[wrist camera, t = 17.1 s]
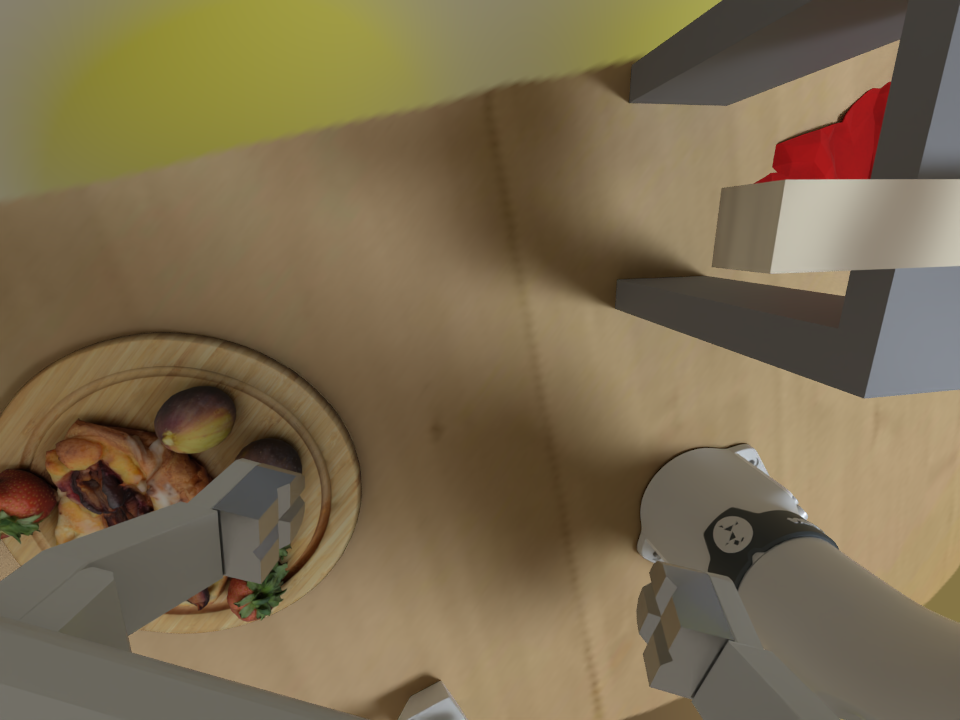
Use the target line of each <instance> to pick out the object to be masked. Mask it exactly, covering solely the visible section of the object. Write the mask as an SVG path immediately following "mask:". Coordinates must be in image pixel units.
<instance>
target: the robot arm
mask: <svg viewBox="0 0 960 720" xmlns="http://www.w3.org/2000/svg"><path fill="white" fill-rule="evenodd" d="M304 489H305V476H304V475H302V474H301V473H297V472H293V471H290V470H286V469H282V468H279V467H275V466H271V465H267V464H264V463H262V464H261V463H258V462H254V461H251V460H247V459H244V458H241V459H238V460H236V461H234V462H233V463H232V464H231V465H230V466H229V467H227V468H226V469H225V470H224V471H223V472H222V473H221V474H220V475H218V476H217V477H216V478H215V479H214V480H213V481H212V482H211V483H209V484H208V485H207V486H206V487H205V488H204V489H203V490H202V491H200V492H199V493H198V494H197V495H196V496H195V497H194V498H193V499H191V500H190V501H189V502H188V503H185V502H178V503H176V504H173V505H170V506H167V507H164V508H161V509H159V510H156V511H153V512H150V513H147V514H145V515H142V516H139V517H136V518H133V519H130V520H128V521H125V522H122V523H119V524H116V525H114V526H111V527H108V528H105V529H102V530H99V531H97V532H94V533H91V534H88V535H85V536H83V537H80V538H77V539H74V540H71V541H68V542H66V543H63V544H60V545H57V546H54V547H51V548H49V549H46V550H43V551H41V552H40V553H39V554H37V555H36V556H35V557H33V558H32V559H30V560H29V561H28V562H26V563H25V564H24V565H22V566H21V567H19V568H18V569H17V570H15V571H14V572H13V573H11V574H10V575H9V576H7V577H6V578H4V579H3V580H2V581H0V720H369V719H366V718H362V717H359V716H355V715H352V714H348V713H344V712H341V711H337V710H334V709H330V708H327V707H323V706H320V705H316V704H312V703H309V702H305V701H302V700H298V699H295V698H291V697H288V696H284V695H280V694H277V693H273V692H270V691H266V690H263V689H259V688H256V687H252V686H249V685H245V684H241V683H238V682H234V681H231V680H227V679H224V678H220V677H217V676H213V675H209V674H206V673H202V672H199V671H195V670H192V669H188V668H185V667H181V666H178V665H174V664H170V663H167V662H163V661H160V660H156V659H153V658H149V657H146V656H142V655H138V654H135V653H132V651H131V647H130V643H129V638H128V636H129V635H130V634H132V633H134V632H135V631H137V630H138V629H140V628H142V627H143V626H145V625H147V624H148V623H150V622H152V621H153V620H155V619H156V618H158V617H160V616H161V615H163V614H165V613H166V612H168V611H170V610H171V609H173V608H174V607H176V606H178V605H179V604H181V603H183V602H184V601H186V600H188V599H189V598H191V597H193V596H194V595H196V594H197V593H199V592H201V591H202V590H204V589H206V588H207V587H209V586H211V585H212V584H214V583H215V582H217V581H219V580H220V579H222V578H223V576H228V577H232V578H236V579H241V580H245V581H249V582H254V583H258V584H262V582H263V581H264V580H265V578H266V577H267V575H268V574H269V573H270V571H271V570H272V569H273V567H274V566H275V564H276V563H277V562H278V560H279V549H281V548H283V547H285V546H287V545H289V544H290V543H291V542H292V540H293V539H294V538H295V536H296V535H297V533H298V530H299V528H300V526H301V524H302V521H303V517H304V512H305V502H304V501H303V499H302V498H301V496H300V494H301V493H302V491H303V490H304ZM797 504H798V500H797V499H796V498H795V497H794V496H793V495H792V493H791V492H790V491H789V490H787V489H786V488H785V487H784V486H782V485H781V484H779V483H778V482H777V481H775V480H774V479H773V478H771V477H770V476H769V474H768V472H767V470H766V468H765V466H764V465H763V463H762V461H761V459H760V457H759V455H758V453H757V451H756V450H755V449H754V448H753V447H751V446H750V445H748V444H741V445H737V446H734V447H731V448H728V449H717V448H701V449H695V450H692V451H689V452H686V453H684V454H681V455H679V456H678V457H676V458H674V459H673V460H671V461H670V462H668V463H667V464H666V465H665V466H664V467H662V468H661V469H660V470H659V471H658V473H657V474H656V475H655V476H654V477H653V479H652V480H651V482H650V483H649V485H648V487H647V489H646V491H645V493H644V496H643V499H642V503H641V510H640V517H641V525H642V531H641V534H640V537H639V540H638V544H637V551H638V552H639V553H640V554H641V556H642V557H643V558H645V559H647V560H649V561H651V562H653V563H654V564H653V566H652V568H651V570H650V572H649V574H650V578H651V583H649V584H647V585H646V586H644V587H643V588H642V590H641V593H640V595H639V598H638V604H637V611H636V612H637V625H638V631H639V634H640V635H641V637H642V638H643V639H644V640H645V642H646V643H647V646H646V648H645V651H644V653H643V657H644V662H645V667H646V672H647V677H648V682H649V687H652V688H655V689H659V690H662V691H665V692H669V693H672V694H676V695H679V696H682V697H686V698H689V699H693V700H692V703H693V705H694V706H695V708H696V709H697V711H698V712H699V714H700V715H701V717H702V718H703V720H840V719H844V720H960V623H958V622H956V621H953V620H950V619H948V618H946V617H943V616H941V615H939V614H937V613H935V612H933V611H931V610H929V609H927V608H925V607H924V606H922V605H920V604H918V603H916V602H915V601H913V600H911V599H910V598H908V597H906V596H905V595H903V594H902V593H900V592H899V591H897V590H896V589H894V588H893V587H891V586H890V585H889V584H887V583H886V582H884V581H883V580H881V579H880V578H878V577H877V576H875V575H874V574H872V573H871V572H869V571H868V570H867V569H865V568H864V567H862V566H861V565H859V564H858V563H857V562H855V561H854V560H852V559H851V558H850V557H848V556H847V555H845V554H844V553H842V552H841V551H840V550H839V548H838V546H837V545H836V543H835V542H834V541H833V540H832V539H831V538H829V537H828V536H827V535H826V534H824V532H823V531H822V530H821V529H819V528H818V527H817V526H815V525H814V524H813V523H811V522H809V521H807V520H806V519H807V518H808V515H807V514H806V512H805V511H804V510H803V509H802V508H801V507H800V506H799V505H797ZM764 649H765V650H764ZM839 718H840V719H839Z"/></svg>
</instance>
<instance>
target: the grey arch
mask: <svg viewBox="0 0 960 720" xmlns="http://www.w3.org/2000/svg"><path fill="white" fill-rule="evenodd" d="M897 40H900V43H899V48H898V53H897V57H896V62H895V67H894V71H893V76H892V81H891V85H890V90H889V95H888V99H887V104H886V109H885V113H884V118H883V123H882V127H881V132H880V137H879V141H878V146H877V151H876V155H875V160H874V165H873V169H872V174H871V178H870V179H960V0H722V1H721V2H720V3H718V4H717V5H715V6H714V7H712V8H711V9H710V10H708V11H707V12H706V13H704V14H703V15H701V16H700V17H699V18H697V19H696V20H694V21H693V22H692V23H690V24H689V25H687V26H686V27H685V28H683V29H682V30H680V31H679V32H678V33H676V34H675V35H673V36H672V37H671V38H669V39H668V40H666V41H665V42H664V43H662V44H661V45H660V46H658V47H657V48H655V49H654V50H652V51H651V52H650V53H648V54H647V55H645V56H644V57H643V58H641V59H640V60H638V61H637V62H636V63H634V64H633V65H632V69H631V84H630V98H629V103H652V104H687V105H722V106H727V105H730V104H733V103H735V102H738V101H741V100H743V99H746V98H748V97H751V96H754V95H756V94H759V93H761V92H764V91H767V90H769V89H772V88H774V87H777V86H780V85H782V84H785V83H787V82H790V81H793V80H795V79H798V78H800V77H803V76H806V75H808V74H811V73H814V72H816V71H819V70H821V69H824V68H827V67H829V66H832V65H834V64H837V63H840V62H842V61H845V60H847V59H850V58H853V57H855V56H858V55H860V54H863V53H866V52H868V51H871V50H874V49H876V48H879V47H881V46H884V45H887V44H889V43H892V42H894V41H897ZM615 309H617V310H620V311H623V312H626V313H628V314H631V315H634V316H637V317H639V318H642V319H645V320H648V321H651V322H653V323H656V324H659V325H662V326H664V327H667V328H670V329H673V330H675V331H678V332H681V333H684V334H687V335H689V336H692V337H695V338H698V339H700V340H703V341H706V342H709V343H712V344H714V345H717V346H720V347H723V348H725V349H728V350H731V351H734V352H737V353H739V354H742V355H745V356H748V357H750V358H753V359H756V360H759V361H762V362H764V363H767V364H770V365H773V366H775V367H778V368H781V369H784V370H787V371H789V372H792V373H795V374H798V375H800V376H803V377H806V378H809V379H812V380H814V381H817V382H820V383H823V384H825V385H828V386H831V387H834V388H837V389H839V390H842V391H845V392H848V393H850V394H853V395H856V396H859V397H862V398H874V397H885V396H895V395H906V394H917V393H927V392H938V391H948V390H959V389H960V266H947V267H923V268H898V269H873V270H851V272H850V276H849V281H848V286H847V290H846V295H845V296H839V295H832V294H826V293H819V292H812V291H805V290H798V289H791V288H785V287H778V286H771V285H764V284H757V283H750V282H744V281H737V280H730V279H723V278H716V277H709V276H693V277H668V278H643V279H617V289H616V303H615Z"/></svg>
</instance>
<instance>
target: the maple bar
mask: <svg viewBox="0 0 960 720" xmlns="http://www.w3.org/2000/svg"><path fill="white" fill-rule="evenodd" d="M947 266H960V179H822V180H779V181H771V182H764V183H756V184H749V185H741V186H734V187H726V188H722V189H721V197H720V205H719V213H718V221H717V229H716V237H715V245H714V253H713V261H712V267H716V268H725V269H734V270H742V271H751V272H760V273H769V274H775V273H799V272H824V271H849V270H873V269H898V268H923V267H947Z"/></svg>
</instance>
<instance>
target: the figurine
mask: <svg viewBox="0 0 960 720" xmlns="http://www.w3.org/2000/svg"><path fill="white" fill-rule="evenodd" d="M398 720H468V719H467V718H466V716H465V715H464V713H463V711H462V710H461V708H460V706H459V705H458V703H457V702H456V700H455V699H454V697H453V696H452V695H451V693H450V692H449V691H448V689H447V688H446V686H445V685H444V684H443V682H442V681H439V682H437V683H435V684H433V685H431V686H429V687H427V688H426V689H424V690H422V691H420V692H418V693H416V694H414V695H412V696H411V697H410V698H409V700H408V702H407V703H406V705H405V707H404V709H403V711H402V713H401V714H400V716H399V718H398Z"/></svg>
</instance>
